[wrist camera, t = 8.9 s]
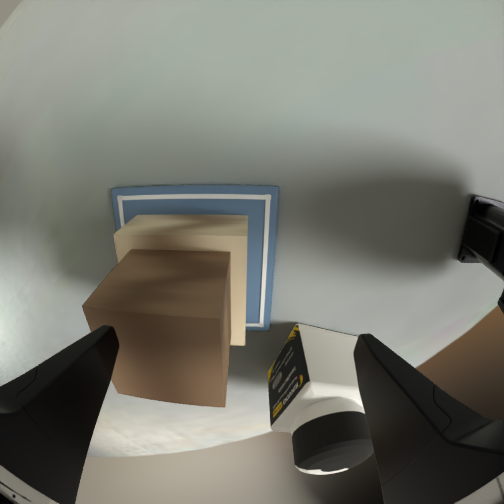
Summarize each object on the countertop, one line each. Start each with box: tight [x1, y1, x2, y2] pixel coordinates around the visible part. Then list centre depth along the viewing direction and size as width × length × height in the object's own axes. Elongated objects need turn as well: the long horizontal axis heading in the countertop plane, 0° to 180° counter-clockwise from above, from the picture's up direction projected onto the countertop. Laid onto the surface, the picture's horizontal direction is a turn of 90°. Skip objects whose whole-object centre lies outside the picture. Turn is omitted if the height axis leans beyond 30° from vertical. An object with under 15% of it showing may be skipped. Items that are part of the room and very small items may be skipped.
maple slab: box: [113, 214, 248, 346], centre depth 18 cm, size 8×8×4 cm
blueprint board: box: [111, 185, 279, 331], centre depth 20 cm, size 12×12×1 cm
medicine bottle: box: [268, 323, 374, 475], centre depth 19 cm, size 7×7×12 cm
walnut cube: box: [82, 249, 231, 407], centre depth 14 cm, size 6×6×6 cm
